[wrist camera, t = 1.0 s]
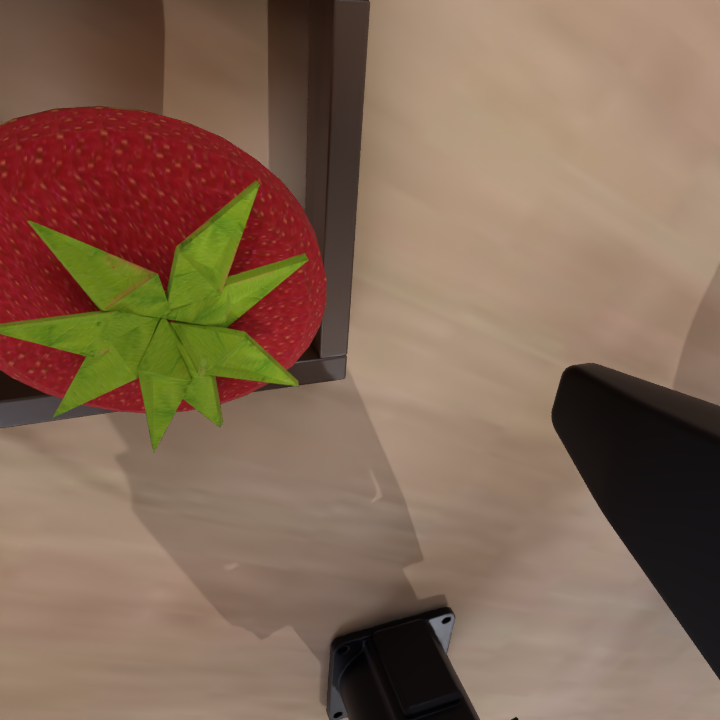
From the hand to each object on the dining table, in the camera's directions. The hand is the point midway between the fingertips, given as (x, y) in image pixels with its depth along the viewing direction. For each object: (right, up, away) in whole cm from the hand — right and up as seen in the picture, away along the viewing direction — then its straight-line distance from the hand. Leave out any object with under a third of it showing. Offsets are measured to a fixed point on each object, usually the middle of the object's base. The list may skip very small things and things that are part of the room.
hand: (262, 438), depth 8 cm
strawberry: (-5, +6, +9) cm, 12 cm away
